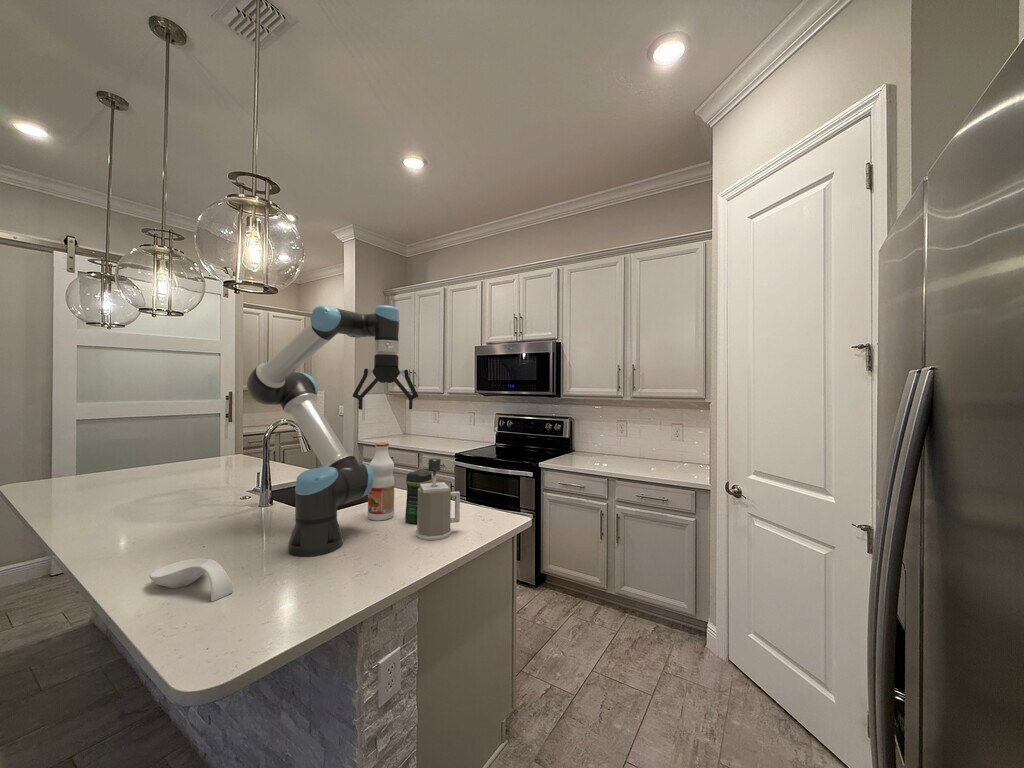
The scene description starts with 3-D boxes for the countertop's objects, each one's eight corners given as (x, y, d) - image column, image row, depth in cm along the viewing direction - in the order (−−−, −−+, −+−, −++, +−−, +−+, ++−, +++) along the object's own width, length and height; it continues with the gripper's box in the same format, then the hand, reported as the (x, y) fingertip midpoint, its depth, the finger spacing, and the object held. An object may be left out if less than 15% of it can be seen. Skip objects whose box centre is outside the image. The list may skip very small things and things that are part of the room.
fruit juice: (394, 519, 155) (395, 444, 155) (367, 522, 152) (368, 445, 152) (393, 512, 164) (394, 440, 164) (367, 514, 160) (368, 441, 161)
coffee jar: (420, 525, 148) (420, 473, 148) (401, 522, 151) (402, 471, 151) (434, 517, 157) (435, 468, 157) (417, 515, 160) (417, 466, 160)
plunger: (423, 523, 135) (424, 461, 136) (420, 516, 143) (421, 457, 143) (447, 521, 138) (448, 460, 138) (443, 514, 145) (443, 456, 145)
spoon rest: (139, 587, 102) (139, 558, 102) (192, 568, 113) (192, 542, 113) (196, 610, 92) (197, 578, 92) (249, 587, 103) (249, 558, 103)
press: (418, 542, 133) (418, 491, 133) (414, 530, 144) (414, 483, 144) (462, 537, 138) (463, 488, 138) (455, 525, 149) (455, 480, 149)
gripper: (344, 351, 127) (343, 421, 127) (427, 354, 136) (426, 420, 136) (345, 353, 134) (344, 419, 134) (423, 356, 143) (423, 418, 143)
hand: (385, 419), depth 135 cm, fingers open, 13 cm apart
